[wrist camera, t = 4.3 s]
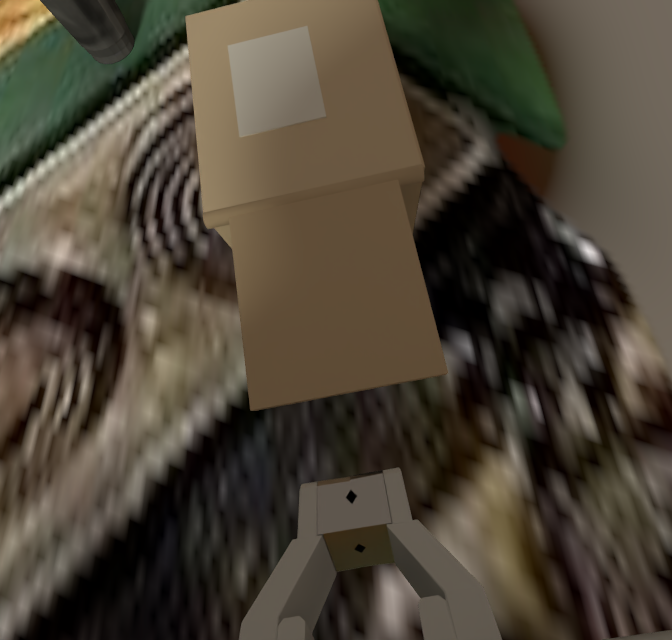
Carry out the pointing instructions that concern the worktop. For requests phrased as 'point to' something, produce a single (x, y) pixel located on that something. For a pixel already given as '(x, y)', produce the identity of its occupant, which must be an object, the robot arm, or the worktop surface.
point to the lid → (312, 195)
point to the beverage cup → (95, 27)
